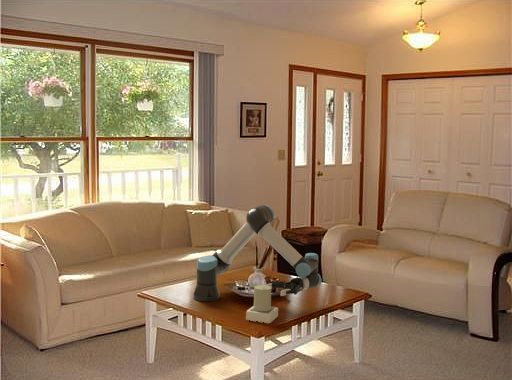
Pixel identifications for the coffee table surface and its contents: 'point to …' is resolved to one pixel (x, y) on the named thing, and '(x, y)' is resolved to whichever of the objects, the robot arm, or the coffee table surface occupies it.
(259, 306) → the can
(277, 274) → the coffee table surface
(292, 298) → the coffee table surface
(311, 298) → the coffee table surface
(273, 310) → the stand
